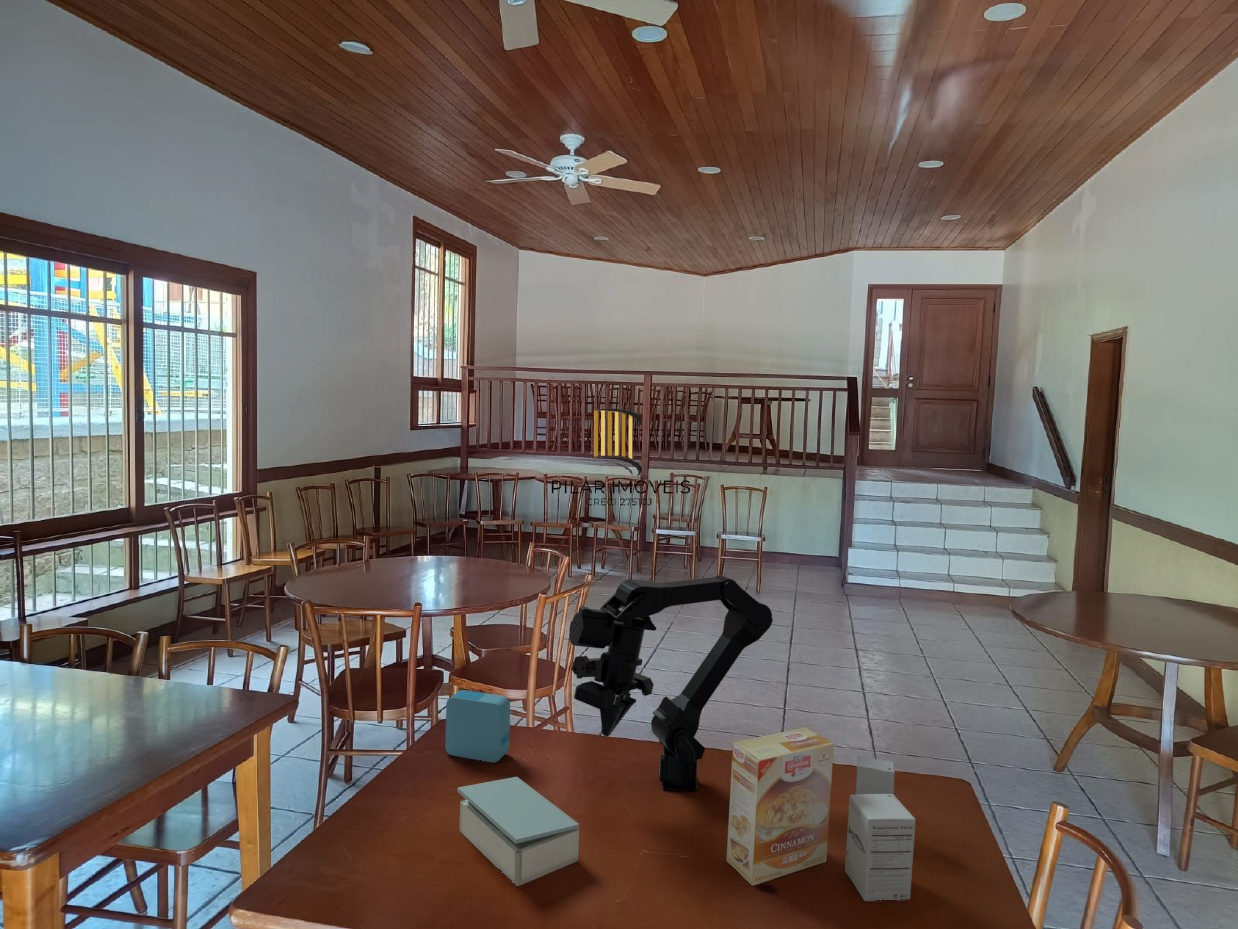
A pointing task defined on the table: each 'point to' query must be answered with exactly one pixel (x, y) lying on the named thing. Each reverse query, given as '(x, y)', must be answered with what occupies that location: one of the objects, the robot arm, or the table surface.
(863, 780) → the skincare box
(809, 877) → the table surface
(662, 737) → the robot arm
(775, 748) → the coffeecake box
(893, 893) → the supplement box
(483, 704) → the blue rounded square block
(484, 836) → the cream box
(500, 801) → the box lid
